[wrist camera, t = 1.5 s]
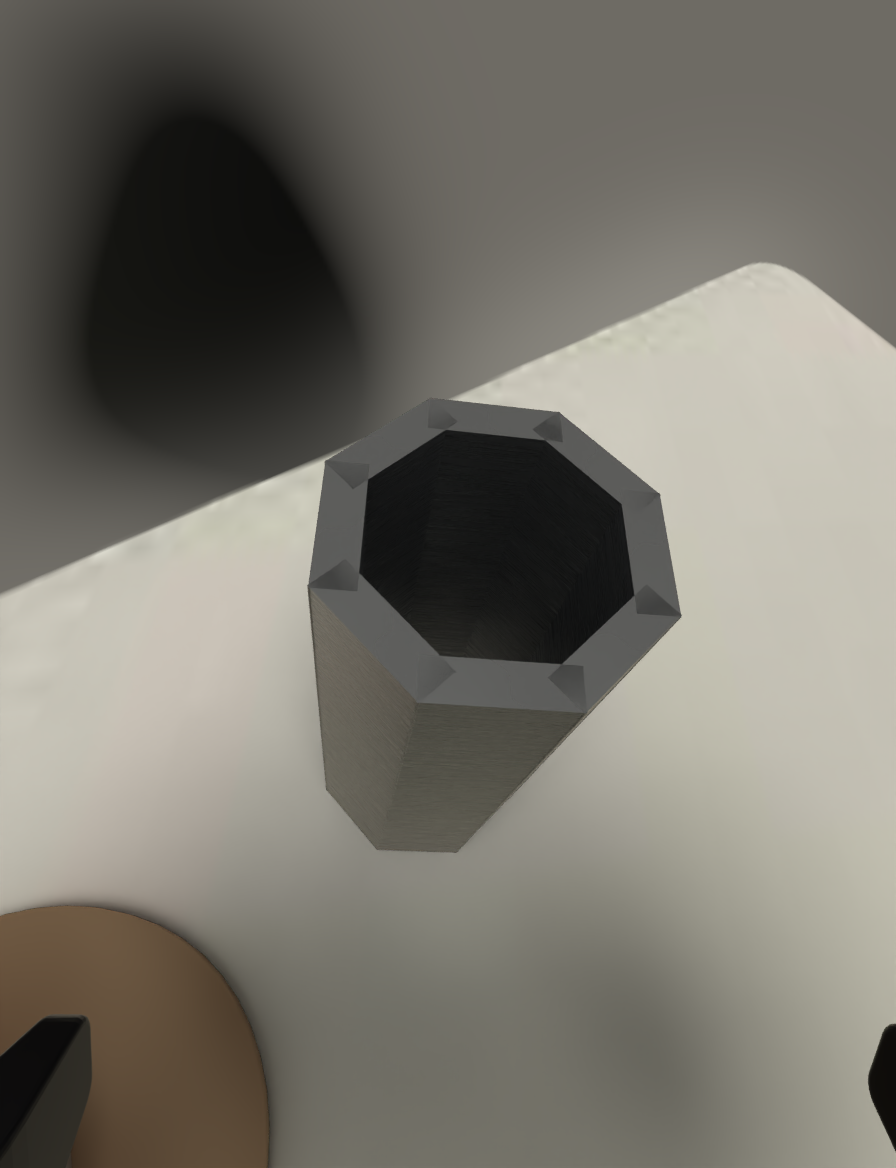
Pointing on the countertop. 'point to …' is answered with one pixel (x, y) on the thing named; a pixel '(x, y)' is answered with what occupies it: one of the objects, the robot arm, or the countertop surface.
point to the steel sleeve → (473, 609)
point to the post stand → (140, 1038)
